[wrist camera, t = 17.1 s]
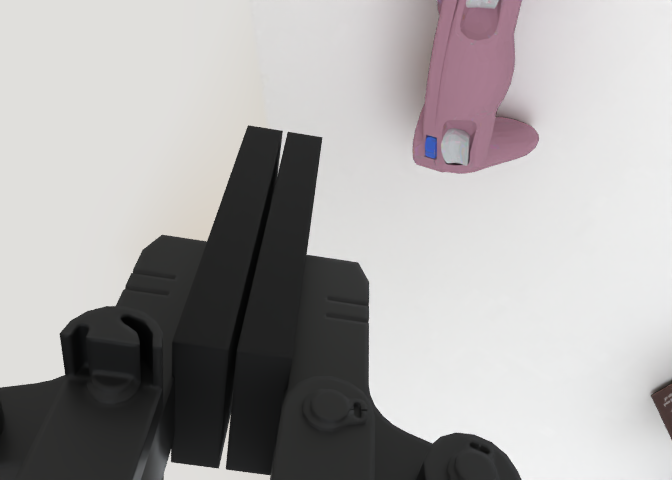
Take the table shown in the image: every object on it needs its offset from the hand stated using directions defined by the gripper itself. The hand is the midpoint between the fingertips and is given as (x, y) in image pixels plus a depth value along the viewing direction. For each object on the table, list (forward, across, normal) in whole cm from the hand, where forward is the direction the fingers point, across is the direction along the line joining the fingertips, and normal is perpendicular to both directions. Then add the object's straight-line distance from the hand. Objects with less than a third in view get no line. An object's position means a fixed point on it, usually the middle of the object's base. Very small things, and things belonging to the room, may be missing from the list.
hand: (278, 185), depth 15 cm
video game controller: (+15, +7, 0) cm, 16 cm away
